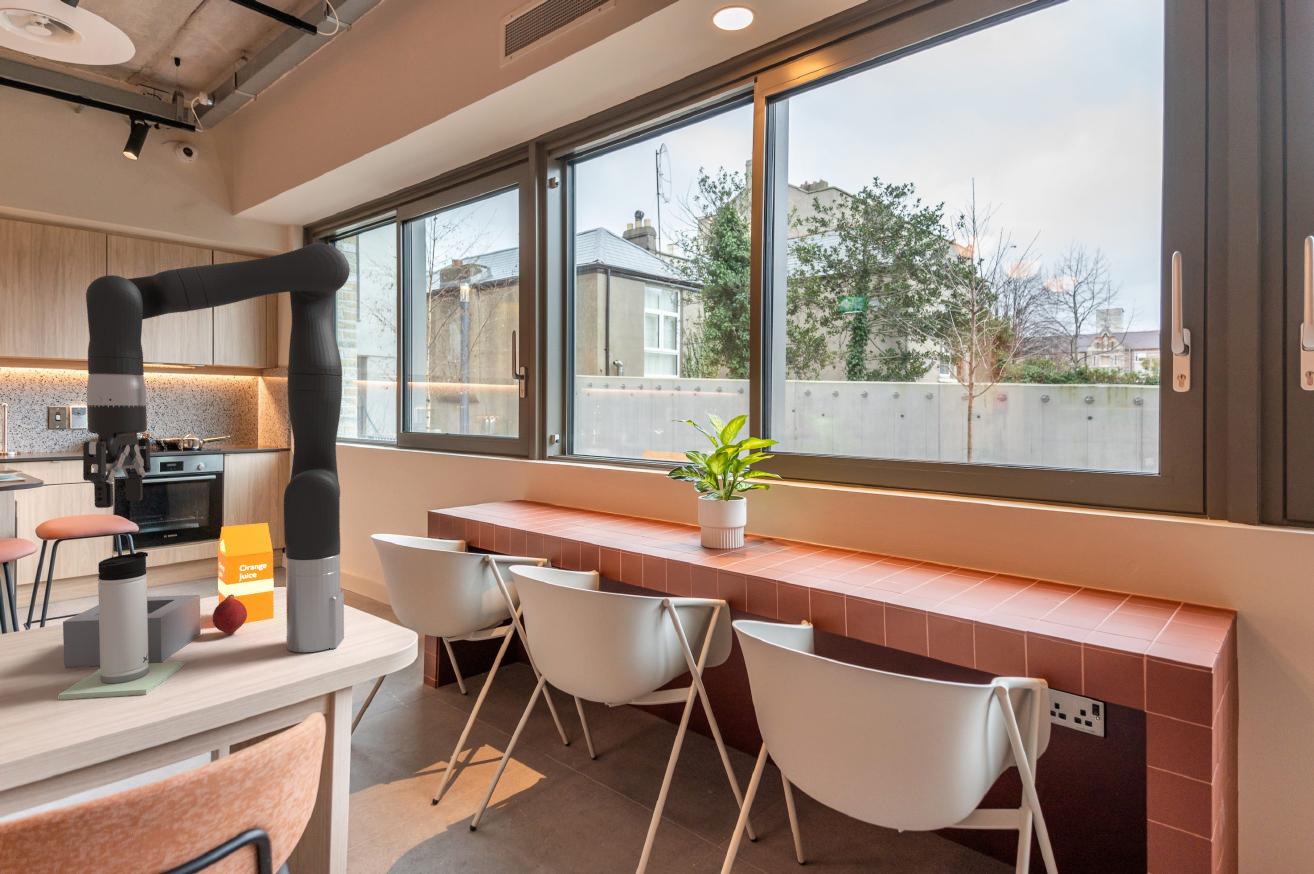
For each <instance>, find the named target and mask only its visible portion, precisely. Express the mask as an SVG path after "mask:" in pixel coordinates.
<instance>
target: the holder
mask: <svg viewBox="0 0 1314 874" xmlns="http://www.w3.org/2000/svg"><path fill="white" fill-rule="evenodd" d="M147 618H148V664H149V663H164V662H165V661H166V660H167V659H169V658H171V656H173V655H175V654H176V653H177V652H178V651H180V650H182V649H183V648H184V647H185V646H187V645H189V644H190V643H191V642H193V641H194V640H195V639H197V638H198V637H200V636H201V594H189V595H188V594H186V595H182V594H181V595H159V596H156V595H153V596H147ZM62 631H63V668H64V667H66V668H75V667H74V666H79V667H78V668H81V667H80V666H85V667H100V637H99V604H98V605H95V606H94V607H91V608H89V609H87V610H85V611H83V612H81V613H80V612H79V613H78V614H76V615H74V616H72V617H70V618H68V619H66V620H64V621H62Z"/></svg>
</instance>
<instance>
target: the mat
mask: <svg viewBox="0 0 1314 874" xmlns="http://www.w3.org/2000/svg"><path fill="white" fill-rule="evenodd" d="M183 667H184V661H174V662H173V661H172V662H171V661H170V662H162V663H148V669H149V672H148V673H147V674H146V675H145V676H143V677H141V678H139V679H136V680H133V681H129V682H124V683H116V684H108V683H104V682H102V681H101V680H100V672H101V670H100V668H99V669H97V670H95V671H94V672H92V673H91V674H89V675H87V676H86V677H84V678H82V679H81V680H79V681H78V682H76V683H75V684H73V685H71V686H70V687H68V688H67V689H65V690H64V691H62V692H59V694H58V698H57V699H58V700H61V699H62V700H79V699H89V698H90V699H91V698H92V699H93V698H94V699H95V698H109V697H110V698H111V697H127V696H128V697H129V696H143V695H147V694H149V693H151V692H152V691H153V690H154V689H155V688H157V687H158V686H159V685H161V684H162V683H163V682H165V681H166V680H167V679H169V678H170V677H172V676H173V675H174V674H175V673H176V672H178V671H179V670H180V669H181V668H183Z"/></svg>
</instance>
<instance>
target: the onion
mask: <svg viewBox="0 0 1314 874" xmlns="http://www.w3.org/2000/svg"><path fill="white" fill-rule="evenodd" d="M246 619H247V610H246V608H245V606H244V605H243V604H242V603H241V602H240V601H238V600H236V599H234V595H233V594H229V595H228V596H227V597H226V599H225V600H224V601H222V602H221V603H220V604H219V603H218V605H217V606H216V607H215V609H214V611H213V613H212V624H213V625H214V627H215V628H216V629H217V630H219V631H221V632H223V633H224V634H226V635H232V634H234V633H236V632H237V630H239V629H240V628H241V627H242V626H243V625H244V624H246V623H245V621H246Z"/></svg>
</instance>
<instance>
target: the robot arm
mask: <svg viewBox="0 0 1314 874" xmlns="http://www.w3.org/2000/svg"><path fill="white" fill-rule="evenodd" d="M350 272H351V271H350V264H349V260H348V259H347V257H346V255H345V254H344V253H343V252H342V251H341V250H339V249H338V248H336V247H335V246H333V245H330V244H327V243H322V242H315V243H311V244H307V245H304V246H303V247H300V248H297V249H294V250H291V251H288V252H285V253H280V254H275V255H272V256H267V257H263V258H262V257H261V258H256V259H250V260H244V261H243V260H241V261H233V262H224V263H213V264H207V265H196V266H189V267H188V266H187V267H181V268H174V269H167V270H162V271H160V272H157V273H156V274H152V275H149V276H147V275H146V276H141V277H133V278H131V277H130V278H127V277H126V278H125V277H123V276H118V275H113V274H112V275H103V276H100V277H98V278H96V279H94V280H93V281H91V282H90V284H89V285H88V287H87V288H86V292H85V302H86V308H87V309H86V311H87V325H88V333H89V341H88V348H87V372H88V373H87V374H88V375H87V377H88V378H87V384H86V409H87V411H86V412H87V415H86V416H87V431H88V432H89V433H91V434H97V435H98V436H97V440H96V441H94V440H91V441H84V442H83V450H82V451H83V453H82V454H83V455H82V456H83V457H82V458H83V460H82V462H83V463H82V467H83V469H82V478H83V481H86V482H87V481H89V482H90V483H91V484H93V485H94V487H93V489H94V491H93V492H94V507H95V508H98V509H106V508H112V507H113V506H114V483H113V481H114V479H115V476H116V474H117V473H118V472H120V471H121V470H122V472H123V474H124V475H125V499H126V500H127V501H129V502H130V501H131V502H133V501H134V502H135V501H136V502H137V501H142V500H143V498H144V495H143V494H144V489H143V488H144V487H143V486H144V485H143V478H145V476H146V473H150V472H151V470H152V468H151V467H152V466H151V453H150V452H151V451H150V439H149V438H148V437H138V435H137V434H140V433H141V434H142V433H145V432H146V431H147V430H148V422H147V421H148V419H147V418H148V417H147V414H148V413H147V389H146V384H145V379H144V378H145V377H144V353H143V346H142V334H143V333H142V331H143V320H148V319H151V318H155V317H160V316H164V315H166V314H176V313H186V312H192V311H197V310H205V309H210V308H215V307H217V308H218V307H221V306H226V305H231V304H235V303H239V302H242V301H243V302H244V301H246V300H251V299H254V298H257V297H262V296H268V295H274V294H280V293H289V299H290V308H291V309H290V310H291V311H290V312H291V327H290V328H291V329H290V334H289V335H290V338H289V347H288V348H289V349H288V364H287V365H288V367H287V406H288V412H289V420H290V425H291V430H292V438H293V456H292V466H291V473H290V480H289V482H288V484H287V486H286V488H285V490H284V493H283V529H284V530H283V532H284V533H283V534H284V535H283V537H284V546H285V556H286V557H285V577H286V578H285V583H286V585H285V586H286V590H285V592H286V594H285V595H286V597H285V598H286V606H285V607H286V648H287V650H288V651H290V652H293V653H312V652H313V653H314V652H319V651H325V650H329V648H330V649H336V648H337V647H338V646H339V645H340V644H341V643H342V641H343V640H344V638H345V606H344V605H345V601H344V599H345V596H344V595H345V594H344V592H345V591H344V590H343V589H341V587H342V586H341V585H342V583H341V528H340V527H341V524H340V523H341V522H340V516H341V515H340V509H341V508H340V503H341V502H340V500H341V499H340V498H341V487H340V483H339V474H338V463H337V445H336V444H337V437H338V430H339V424H340V417H341V408H342V399H343V398H342V395H343V393H342V392H343V365H342V360H341V355H340V349H339V346H338V342H337V337H336V333H335V327H334V325H335V324H334V311H335V301H336V294H337V292H338V291H339V290H340V289H341V288H343V287H344V286H345V284H346V283H347V281H348V279H349V276H350V274H351V273H350ZM92 468H93V469H94V470H93V471H92ZM342 639H343V640H342ZM339 643H340V644H339Z"/></svg>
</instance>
